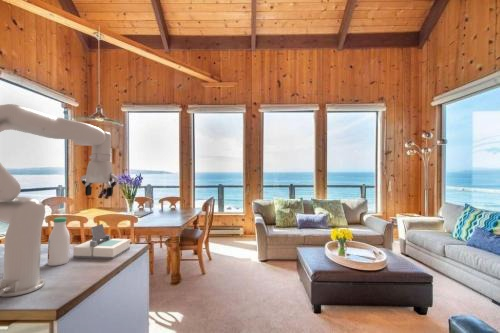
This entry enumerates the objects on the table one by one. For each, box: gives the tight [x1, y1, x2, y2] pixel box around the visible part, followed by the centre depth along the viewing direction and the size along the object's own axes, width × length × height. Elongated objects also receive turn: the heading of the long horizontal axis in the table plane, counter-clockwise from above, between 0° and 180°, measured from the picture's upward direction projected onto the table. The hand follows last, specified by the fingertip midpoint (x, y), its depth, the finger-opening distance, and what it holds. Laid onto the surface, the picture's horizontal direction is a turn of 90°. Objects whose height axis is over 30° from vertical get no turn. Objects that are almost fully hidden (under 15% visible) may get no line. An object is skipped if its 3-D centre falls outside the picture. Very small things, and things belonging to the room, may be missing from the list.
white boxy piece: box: [72, 234, 131, 260], centre depth 127 cm, size 16×19×8 cm
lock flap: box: [90, 223, 108, 244], centre depth 128 cm, size 9×9×2 cm
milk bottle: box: [47, 216, 71, 267], centre depth 113 cm, size 8×8×20 cm
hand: (98, 195), depth 116 cm, fingers open, 9 cm apart
